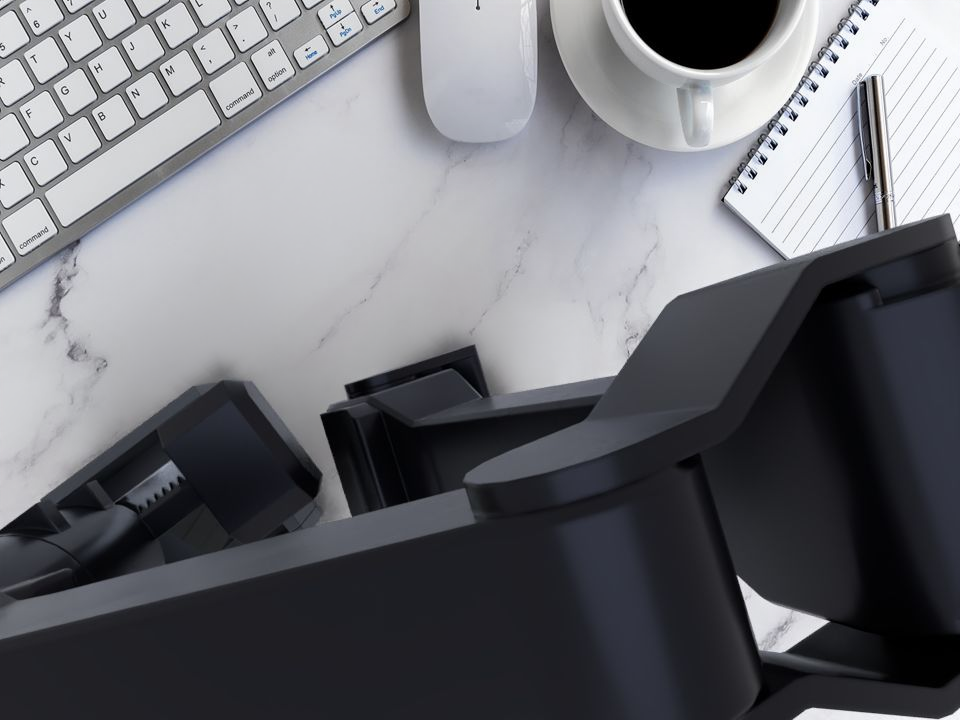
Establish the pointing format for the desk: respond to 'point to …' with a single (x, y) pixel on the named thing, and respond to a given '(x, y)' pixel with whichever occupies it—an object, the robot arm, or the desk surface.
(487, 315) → the desk surface
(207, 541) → the ink cartridge
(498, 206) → the desk surface
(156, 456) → the waste bin
